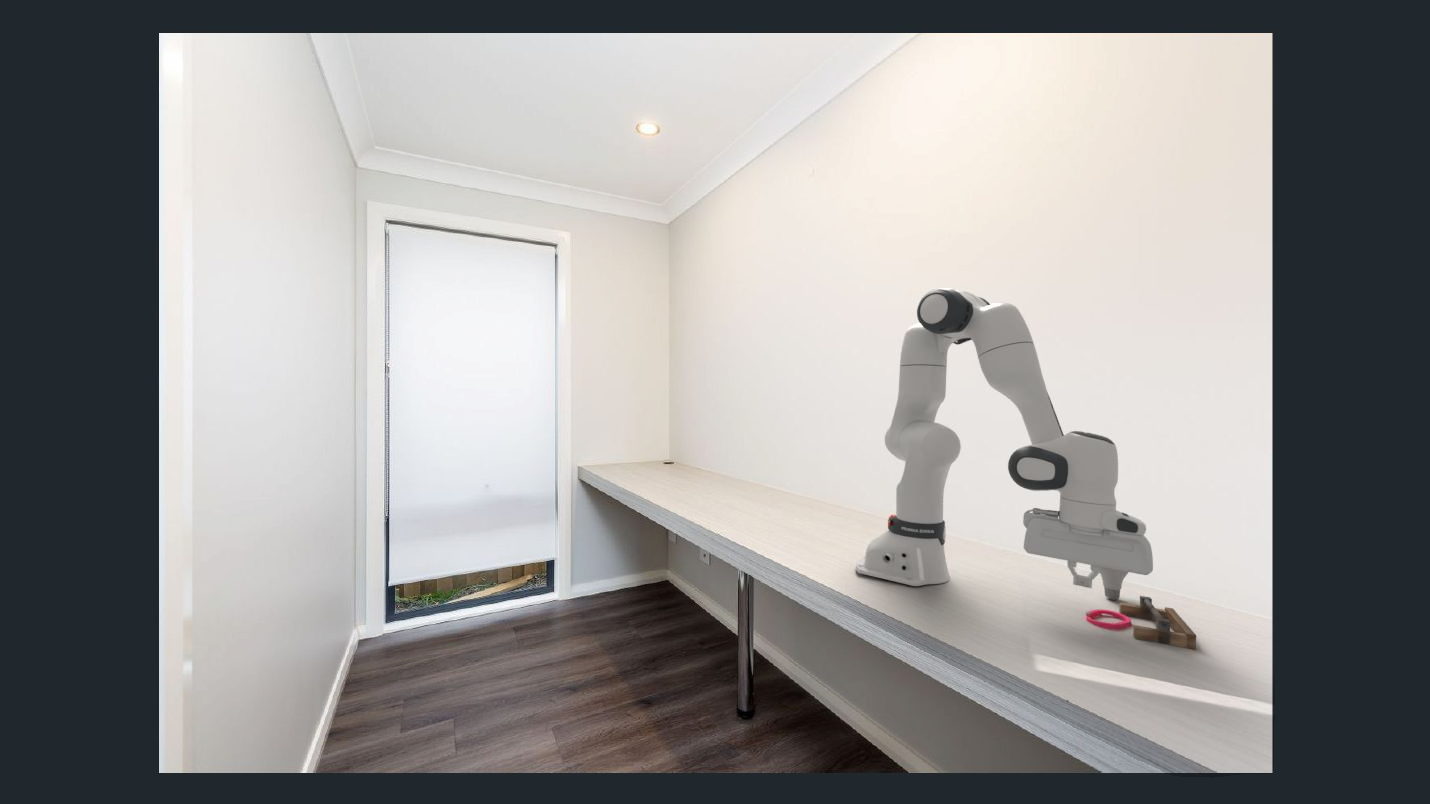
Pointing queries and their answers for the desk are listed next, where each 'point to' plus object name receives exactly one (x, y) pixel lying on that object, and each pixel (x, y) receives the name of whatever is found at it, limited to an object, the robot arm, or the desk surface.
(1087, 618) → the fitness band
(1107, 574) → the lightbulb
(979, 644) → the desk surface
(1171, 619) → the wooden bar clamp
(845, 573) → the desk surface
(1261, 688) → the desk surface
